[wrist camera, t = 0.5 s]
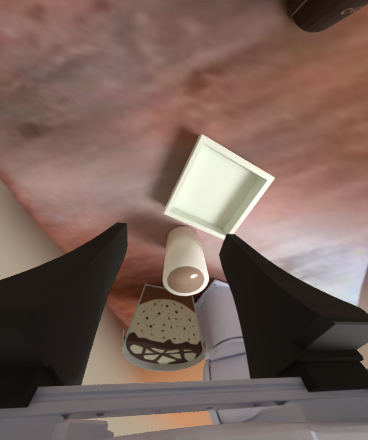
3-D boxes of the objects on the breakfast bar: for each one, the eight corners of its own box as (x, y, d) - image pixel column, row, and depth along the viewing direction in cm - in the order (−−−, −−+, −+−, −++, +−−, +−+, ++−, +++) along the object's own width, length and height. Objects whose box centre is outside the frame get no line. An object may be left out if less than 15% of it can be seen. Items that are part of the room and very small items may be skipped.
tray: (222, 231, 24) (227, 241, 21) (165, 206, 21) (163, 213, 19) (263, 174, 20) (275, 177, 18) (199, 135, 18) (202, 134, 15)
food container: (131, 303, 30) (112, 369, 21) (137, 282, 28) (118, 347, 19) (189, 312, 32) (194, 376, 24) (199, 293, 30) (208, 357, 21)
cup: (190, 257, 26) (194, 300, 19) (161, 246, 25) (155, 288, 17) (205, 233, 24) (217, 272, 17) (175, 220, 23) (174, 256, 15)
